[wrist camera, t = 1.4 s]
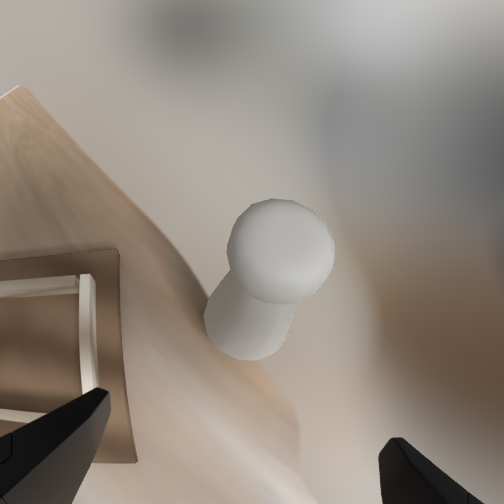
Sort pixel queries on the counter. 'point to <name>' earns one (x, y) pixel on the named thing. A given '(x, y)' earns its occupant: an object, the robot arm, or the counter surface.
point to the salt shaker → (267, 277)
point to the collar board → (63, 342)
